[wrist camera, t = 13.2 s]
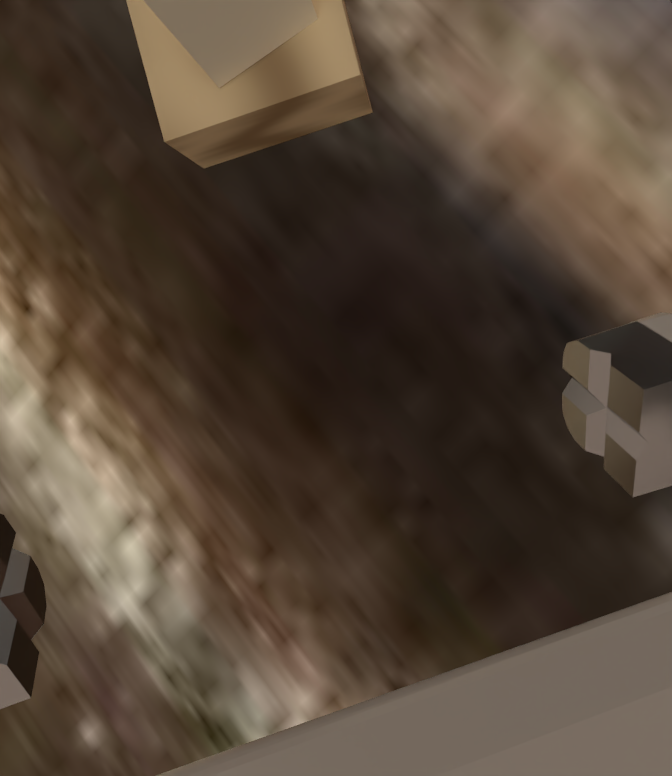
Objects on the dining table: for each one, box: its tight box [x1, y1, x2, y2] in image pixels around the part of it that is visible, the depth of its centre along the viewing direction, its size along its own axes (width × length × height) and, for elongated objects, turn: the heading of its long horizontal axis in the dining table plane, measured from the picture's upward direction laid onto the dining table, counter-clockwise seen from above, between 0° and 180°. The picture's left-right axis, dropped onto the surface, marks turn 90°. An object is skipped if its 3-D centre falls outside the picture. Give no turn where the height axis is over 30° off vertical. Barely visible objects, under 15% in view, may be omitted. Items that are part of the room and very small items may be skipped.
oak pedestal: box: [126, 0, 373, 168], centre depth 29 cm, size 9×9×5 cm
